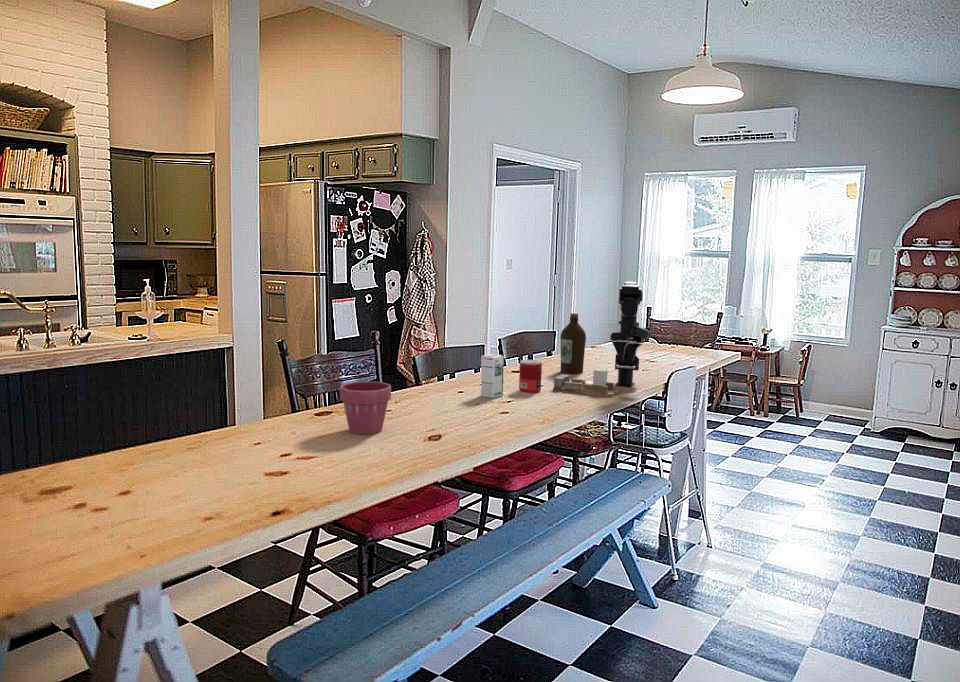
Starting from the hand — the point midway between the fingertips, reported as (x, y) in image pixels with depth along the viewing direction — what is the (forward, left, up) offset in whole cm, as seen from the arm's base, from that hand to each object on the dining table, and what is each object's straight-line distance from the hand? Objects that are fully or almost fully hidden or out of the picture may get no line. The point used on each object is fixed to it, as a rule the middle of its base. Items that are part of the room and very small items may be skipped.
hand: (626, 361), depth 262 cm
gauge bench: (+6, -13, -12) cm, 18 cm away
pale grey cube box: (+7, -10, -10) cm, 16 cm away
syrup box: (+33, -39, -12) cm, 52 cm away
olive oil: (-30, -31, -12) cm, 45 cm away
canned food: (+17, -31, -12) cm, 37 cm away
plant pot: (+95, -49, -12) cm, 107 cm away
